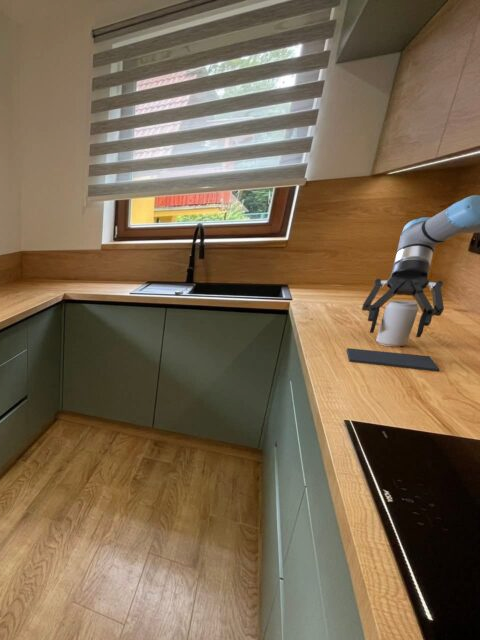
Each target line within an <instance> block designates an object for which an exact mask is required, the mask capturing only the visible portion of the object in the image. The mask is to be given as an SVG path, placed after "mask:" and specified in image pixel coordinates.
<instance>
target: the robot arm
mask: <svg viewBox="0 0 480 640" xmlns="http://www.w3.org/2000/svg"><path fill="white" fill-rule="evenodd" d="M475 233H480V195H477V194H474V195H470V196H468V197H465V198H463V199H461V200H459V201H457V202H454V203H453V204H452V205H450V206H448V207H447V208H444V210H442V211H440V212H438V213H437V214H435V215H434V216H432V217H425V216H424V217H419V218H417V219H413V220H410V221H408V223H406V224H405V225H404V227H403V229H402V231H401V234H400V236H399V242H398V246H397V250H396V254H395V257H394V261H393V266H392V268H391V273H390V277H389V278H388V279H387V280H386V279H385V280H381V278H376V279H375V281H374V284H373V288H372V290H371V291H370V293H369V294H368V295H367V297H366V298H365V301H364V302H363V304H362V307H361V310H362V311H363V312H364V311H365V312H366V311H367V312H368V315H367V316H368V317H367V322H371V326H370V329H369V334H370V333H371V334H374V331H375V329H376V325H377V321H378V318H379V313H380V309H381V308H382V306H384V305H385V304H386V303H387V302H389V301H390V300H391V299H392V298H393V297H394V296H403V295H404V296H411V297H412V298H413V299H414V300H415V302H416V303H418V305H417V306H418V307H419V308H420V310H421V312H422V313H421V316H420V318H419V324H418V327H417V331H416V336H415V338H421V336H422V334H423V332H424V328H425V327H429V326H430V324H431V323H432V319H433V316H434V317H435V316H436V317H438V316H439V317H441V315H442V314H443V312H444V310H445V306H444V301H443V293H442V286H443V284H444V282H443V280H438V281H436V282H434V281H430V280H429V279H428V277H429V272H430V269H431V265H432V260H433V256H434V250H435V247H436V246H438V245H440V244H442V243H444V242H446V241H448V240H450V239H452V238H454V237H456V236H458V235H461V234H475ZM385 286H386V287H387V288H389V289H388V290H387V291H386V292H385V293H384V294H383V295H381V297H379V298H378V299H377V300H376V301H375V302H374V300H375V298H376V297H377V295H378V294H379V292H380V290H381V289H383V288H384V287H385ZM426 288H429V291H430V292H431V298H432V299H431V300H432V304H431V303H430V301H429V299H428V297H427V296H426V294H425V292H424V289H426ZM373 302H374V303H373ZM372 303H373V304H372Z"/></svg>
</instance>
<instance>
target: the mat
mask: <svg viewBox="0 0 480 640" xmlns="http://www.w3.org/2000/svg"><path fill="white" fill-rule="evenodd" d="M346 353H347V358H348V362H351V363H359V364H369V365H378V366H387V367H395V368H396V367H397V368H405V369H413V370H422V371H429V372H430V371H431V372H440V370H441V369H440V368H439V366H438V365H437V364H436V363H435V361H434V360H433V359H432V357H431V356H430V355H423V354H422V355H421V354H411V353H401V352H391V351H380V350H370V349H361V348H351V347H348V348H346Z"/></svg>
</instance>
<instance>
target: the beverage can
mask: <svg viewBox="0 0 480 640" xmlns="http://www.w3.org/2000/svg"><path fill="white" fill-rule="evenodd" d="M388 302H389V303H388V304H387V305H385V309H384V312H383V315H382V318H381V322H380V326H379V329H378V332H377V335H376V339H375V341H376V342H377V343H378V345H381V346H385V347H392V348H398V347H400V346H401V347H403V346H405V345H407V344H408V342H409V339H410V336H411V333H412V330H413V326H414V324H415V320H416V317H417V314H418V311H419V305H418V303H417V301H410V300H409V301H408V300H389V301H388ZM401 347H400V348H401Z"/></svg>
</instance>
